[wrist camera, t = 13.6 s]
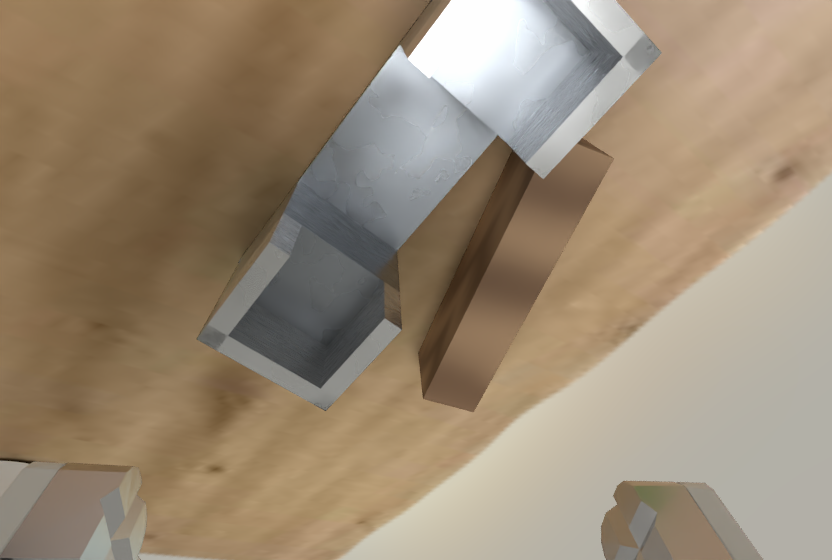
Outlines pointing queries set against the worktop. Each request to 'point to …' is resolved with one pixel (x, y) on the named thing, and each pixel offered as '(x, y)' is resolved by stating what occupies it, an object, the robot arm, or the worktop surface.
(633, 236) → the worktop surface
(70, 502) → the robot arm
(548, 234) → the rail
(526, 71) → the bracket stand
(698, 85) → the worktop surface
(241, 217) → the worktop surface
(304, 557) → the worktop surface
